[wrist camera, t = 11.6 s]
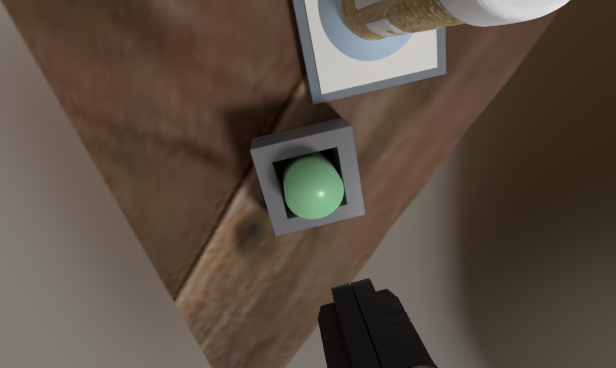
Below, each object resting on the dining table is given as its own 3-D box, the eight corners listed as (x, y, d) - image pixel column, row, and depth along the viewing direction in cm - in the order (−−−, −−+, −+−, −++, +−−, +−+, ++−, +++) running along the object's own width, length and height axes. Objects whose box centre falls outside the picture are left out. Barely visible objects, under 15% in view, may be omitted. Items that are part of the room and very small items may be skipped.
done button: (276, 158, 22) (278, 173, 19) (329, 145, 22) (338, 158, 20) (289, 205, 24) (292, 225, 21) (338, 193, 24) (348, 211, 21)
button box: (251, 138, 23) (249, 149, 20) (341, 117, 23) (351, 125, 20) (274, 217, 26) (275, 236, 23) (354, 197, 26) (364, 214, 23)
